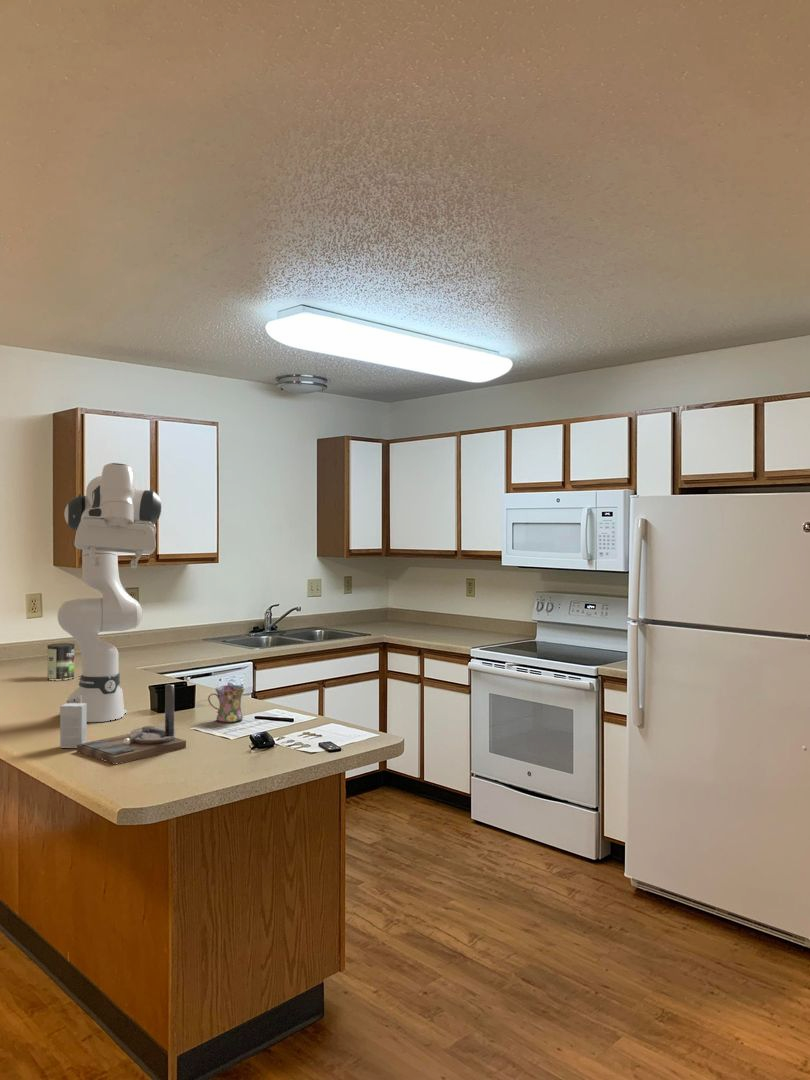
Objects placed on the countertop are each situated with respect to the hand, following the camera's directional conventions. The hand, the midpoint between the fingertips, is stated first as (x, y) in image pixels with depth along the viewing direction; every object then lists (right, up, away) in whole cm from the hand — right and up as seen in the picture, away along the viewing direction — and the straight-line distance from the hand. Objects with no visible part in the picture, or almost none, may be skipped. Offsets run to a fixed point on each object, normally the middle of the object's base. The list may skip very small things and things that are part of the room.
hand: (115, 566), depth 210 cm
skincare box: (-17, -52, +16) cm, 57 cm away
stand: (0, -52, +13) cm, 53 cm away
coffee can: (-66, -50, +120) cm, 146 cm away
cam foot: (+5, -49, +13) cm, 51 cm away
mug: (+18, -52, +49) cm, 73 cm away
